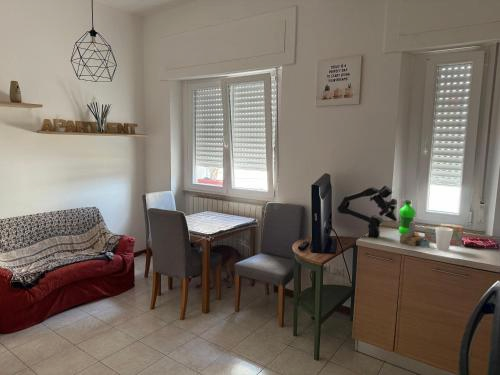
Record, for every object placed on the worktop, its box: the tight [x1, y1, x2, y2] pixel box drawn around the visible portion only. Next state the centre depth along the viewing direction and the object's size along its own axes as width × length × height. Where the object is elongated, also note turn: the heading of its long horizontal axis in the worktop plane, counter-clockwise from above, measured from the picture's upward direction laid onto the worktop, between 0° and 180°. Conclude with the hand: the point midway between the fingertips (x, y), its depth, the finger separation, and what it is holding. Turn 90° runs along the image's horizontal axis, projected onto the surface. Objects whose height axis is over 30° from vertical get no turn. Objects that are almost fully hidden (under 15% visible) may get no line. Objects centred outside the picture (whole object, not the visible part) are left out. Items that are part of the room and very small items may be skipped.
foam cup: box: [435, 226, 453, 252], centre depth 214 cm, size 10×9×13 cm
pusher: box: [409, 220, 416, 237], centre depth 225 cm, size 2×6×9 cm, turn 140°
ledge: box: [399, 233, 425, 247], centre depth 225 cm, size 12×10×5 cm
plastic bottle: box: [398, 199, 416, 236], centre depth 245 cm, size 10×10×25 cm
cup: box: [418, 239, 431, 248], centre depth 221 cm, size 6×6×4 cm
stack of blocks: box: [424, 223, 464, 247], centre depth 230 cm, size 21×6×12 cm, turn 66°
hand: (396, 220), depth 231 cm, fingers closed
